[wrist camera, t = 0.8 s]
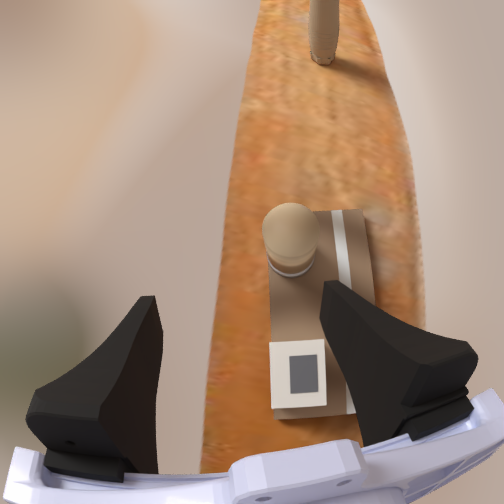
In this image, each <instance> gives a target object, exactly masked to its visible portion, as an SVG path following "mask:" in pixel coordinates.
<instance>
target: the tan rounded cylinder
mask: <svg viewBox="0 0 504 504" xmlns="http://www.w3.org/2000/svg"><path fill="white" fill-rule="evenodd" d="M319 233H320V226H319V222H318V219H317V217H316V216H315V214H314V213H313V212H312V211H311V210H310V209H308V208H307V207H305V206H303V205H301V204H297V203H285V204H281V205H278V206H277V207H275V208H273V209H272V210H271V211H270V212H269V213H268V214H267V215H266V217H265V219H264V222H263V226H262V234H263V238H264V243H265V247H266V253H267V258H268V262H269V265H270V267H271V268H272V269H273V271H274V272H275V273H277V274H278V275H280V276H282V277H286V278H296V277H300V276H302V275H304V274H305V273H306V272H308V271H309V269H310V268H311V267H312V265H313V262H314V258H315V253H316V247H317V243H318V238H319Z"/></svg>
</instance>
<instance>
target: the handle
mask: <svg viewBox="0 0 504 504" xmlns="http://www.w3.org/2000/svg"><path fill="white" fill-rule="evenodd" d="M338 36H339V0H310V11H309V43H310V49H311V51H310V55H311V59H312V60H314V61H316V62H317V64H320V65H321V64H327V65H328V64H330V63H331V61H332V60H334V58H335V51H336V48H337V43H338Z"/></svg>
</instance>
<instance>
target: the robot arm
mask: <svg viewBox="0 0 504 504" xmlns="http://www.w3.org/2000/svg"><path fill="white" fill-rule="evenodd" d="M319 319H320V322H321V326H322V329H323V332H324V335H325V338H326V340H327V342H328V344H329V346H330V348H331V350H332V352H333V354H334V356H335V359H336V361H337V363H338V365H339V367H340V369H341V371H342V373H343V375H344V378H345V380H346V383H347V386H348V389H349V392H350V395H351V398H352V401H353V404H354V408H355V411H356V415H357V419H358V423H359V427H360V431H361V435H362V440H363V445H364V448H360V446H359V443H358V442H356V441H352V440H349V439H343V440H334V441H330V442H325V443H321V444H316V445H311V446H306V447H301V448H295V449H289V450H283V451H277V452H270V453H262V454H257V455H253V456H248V457H245V458H243V459H241V460H238V461H236V462H234V463H233V464H232V465H231V467H230V469H229V471H228V472H226V473H211V474H185V475H183V474H182V475H181V474H177V475H171V474H165V475H163V474H159V473H158V463H157V449H156V394H157V387H158V380H159V374H160V367H161V360H162V353H163V330H162V325H161V321H160V317H159V313H158V308H157V304H156V299H155V296H142V297H140V298H139V299H138V300H137V302H136V303H135V304H134V306H133V307H132V308H131V310H130V311H129V312H128V314H127V315H126V316H125V318H124V319H123V320H122V321H121V323H120V324H119V325H118V326H117V328H116V329H115V330H114V331H113V332H112V333H111V335H110V336H109V337H108V338H107V339H106V340H105V341H104V342H103V343H102V344H101V345H100V346H99V347H98V348H97V349H96V350H95V351H94V352H93V353H92V354H91V355H90V356H88V357H87V358H86V359H85V360H83V361H82V362H81V363H79V364H78V365H77V366H76V367H74V368H73V369H72V370H70V371H69V372H67V373H66V374H64V375H63V376H61V377H59V378H58V379H56V380H54V381H53V382H50V383H48V384H47V385H45V386H43V387H41V388H39V389H37V390H35V393H34V395H33V398H32V401H31V403H30V406H29V409H28V412H27V415H26V423H27V425H28V427H29V428H30V430H31V431H32V432H33V433H34V435H36V437H37V438H38V439H39V440H40V441H41V442H42V443H43V444H44V445H45V446H46V447H47V451H46V455H44V454H42V453H40V452H38V451H34V450H30V449H25V448H21V447H15V450H14V454H13V457H12V461H11V464H10V468H9V473H8V476H7V481H6V485H5V489H4V494H3V499H4V500H5V501H6V502H8V503H9V504H409V503H411V502H413V501H415V500H417V499H419V498H421V497H423V496H425V495H427V494H429V493H431V492H432V491H435V490H437V489H438V488H440V487H442V486H444V485H445V484H447V483H449V482H451V481H452V480H454V479H456V478H457V477H459V476H461V475H462V474H464V473H466V472H467V471H469V470H471V469H472V468H474V467H476V466H477V465H479V464H480V463H482V462H483V461H485V460H487V459H488V458H489V457H490V456H492V455H493V454H494V453H495V452H496V451H497V450H498V449H499V448H500V447H501V446H502V445H503V444H504V404H503V402H502V401H501V400H500V398H499V397H498V395H497V394H496V393H495V391H494V390H493V388H490V389H488V390H486V391H484V392H482V393H480V394H478V395H476V396H475V397H473V398H472V399H471V400H470V401H469V399H468V398H467V396H466V395H467V394H468V393H469V391H468V389H467V388H466V387H465V385H466V384H467V382H468V380H469V379H470V377H471V375H472V374H473V372H474V370H475V368H476V366H477V363H478V355H477V354H476V352H475V351H474V350H473V349H472V347H471V346H470V345H469V344H468V342H466V341H461V340H456V339H451V338H447V337H443V336H439V335H436V334H433V333H430V332H427V331H424V330H421V329H419V328H416V327H414V326H411V325H409V324H407V323H405V322H403V321H401V320H399V319H397V318H395V317H393V316H391V315H389V314H388V313H386V312H384V311H383V310H381V309H379V308H378V307H376V306H375V305H373V304H372V303H370V302H369V301H367V300H366V299H364V298H363V297H361V296H360V295H358V294H357V293H356V292H354V291H353V290H351V289H350V288H349V287H347V286H346V285H344V284H343V283H341V282H340V281H338V280H331V281H324V286H323V294H322V301H321V309H320V316H319Z"/></svg>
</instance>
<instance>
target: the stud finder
mask: <svg viewBox="0 0 504 504" xmlns="http://www.w3.org/2000/svg"><path fill="white" fill-rule="evenodd" d="M269 346H270V376H271V409H274V408H296V407H311V406H324V405H327V401H326V369H325V347H324V339H317V340H303V341H286V342H269Z"/></svg>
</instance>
